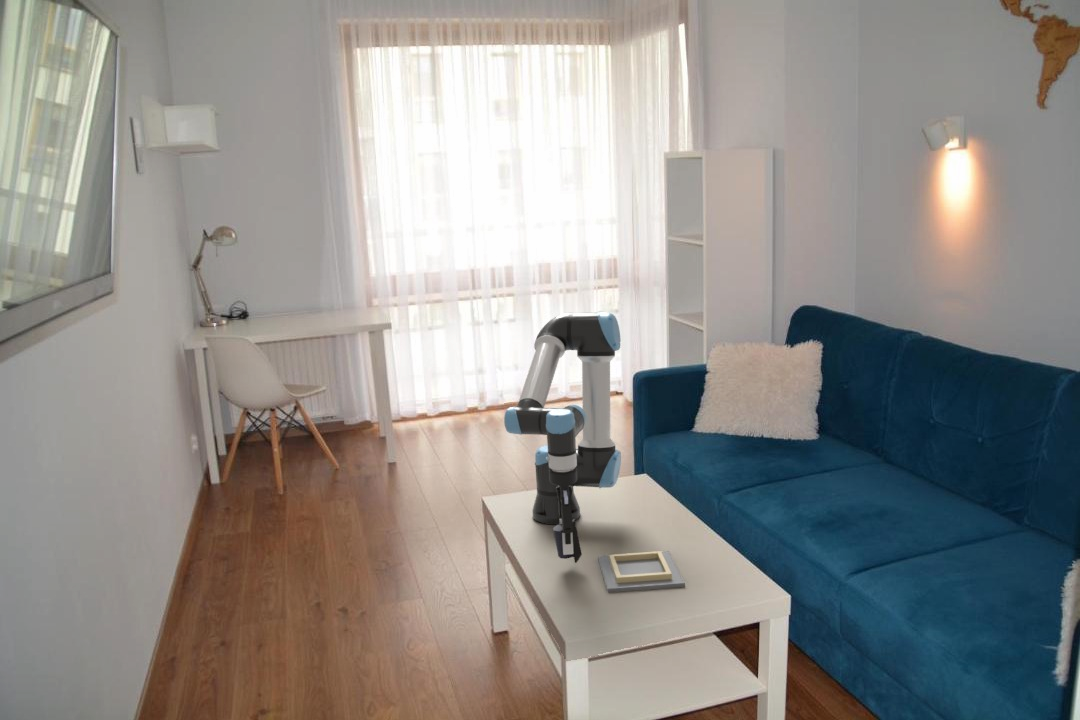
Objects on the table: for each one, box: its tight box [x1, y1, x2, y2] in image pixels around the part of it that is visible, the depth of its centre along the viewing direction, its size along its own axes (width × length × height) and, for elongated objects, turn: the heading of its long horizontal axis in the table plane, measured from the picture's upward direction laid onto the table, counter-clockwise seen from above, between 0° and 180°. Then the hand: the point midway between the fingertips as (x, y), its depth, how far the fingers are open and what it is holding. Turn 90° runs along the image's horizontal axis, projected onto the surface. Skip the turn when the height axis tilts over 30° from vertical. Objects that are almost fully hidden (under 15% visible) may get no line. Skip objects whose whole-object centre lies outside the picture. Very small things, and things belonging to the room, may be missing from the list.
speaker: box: [552, 519, 583, 564], centre depth 234 cm, size 8×6×10 cm
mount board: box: [597, 550, 686, 593], centre depth 231 cm, size 20×20×2 cm
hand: (566, 547), depth 234 cm, fingers closed on speaker, 8 cm apart
